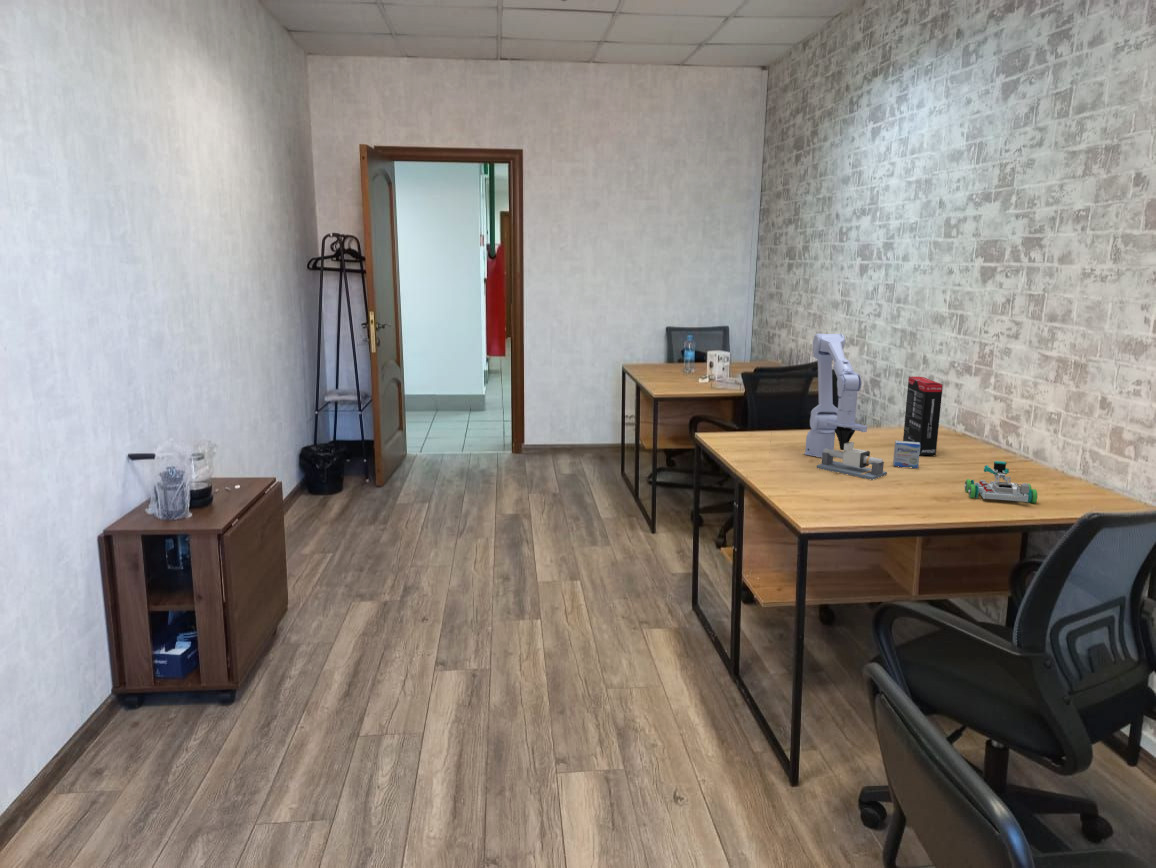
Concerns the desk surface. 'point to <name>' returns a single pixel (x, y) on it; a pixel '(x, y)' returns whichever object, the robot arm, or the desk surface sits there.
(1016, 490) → the robot kit
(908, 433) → the graphics card box
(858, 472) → the pipe stand
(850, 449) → the sleeve
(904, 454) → the medicine box
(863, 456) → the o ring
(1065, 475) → the desk surface
